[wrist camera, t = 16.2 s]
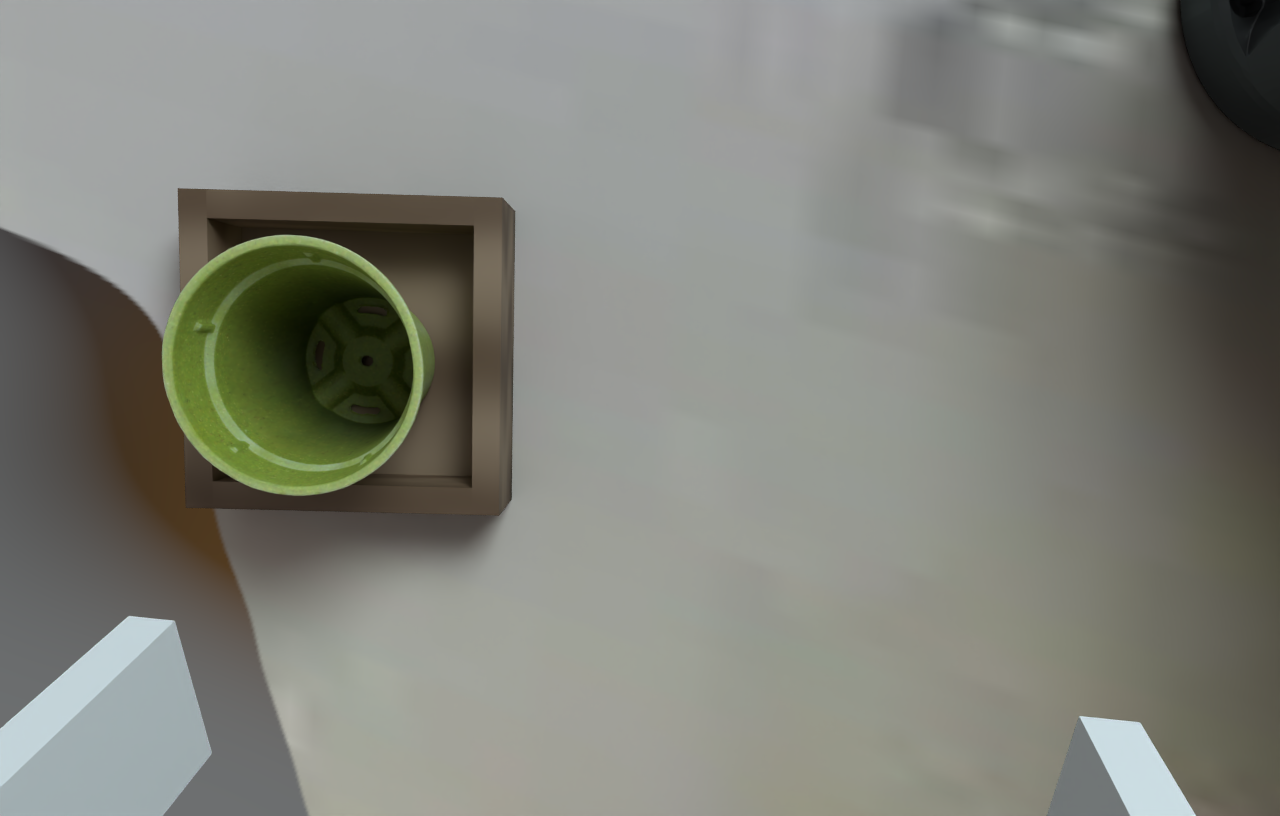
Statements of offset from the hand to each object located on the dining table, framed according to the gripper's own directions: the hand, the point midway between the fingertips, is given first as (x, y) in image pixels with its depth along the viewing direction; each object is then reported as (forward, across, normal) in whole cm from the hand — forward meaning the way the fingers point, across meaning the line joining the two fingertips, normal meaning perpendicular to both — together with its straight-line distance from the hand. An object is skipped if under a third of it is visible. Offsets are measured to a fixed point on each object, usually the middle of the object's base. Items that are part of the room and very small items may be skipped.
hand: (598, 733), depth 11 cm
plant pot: (+24, -15, -4) cm, 29 cm away
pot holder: (+25, -16, -4) cm, 29 cm away
